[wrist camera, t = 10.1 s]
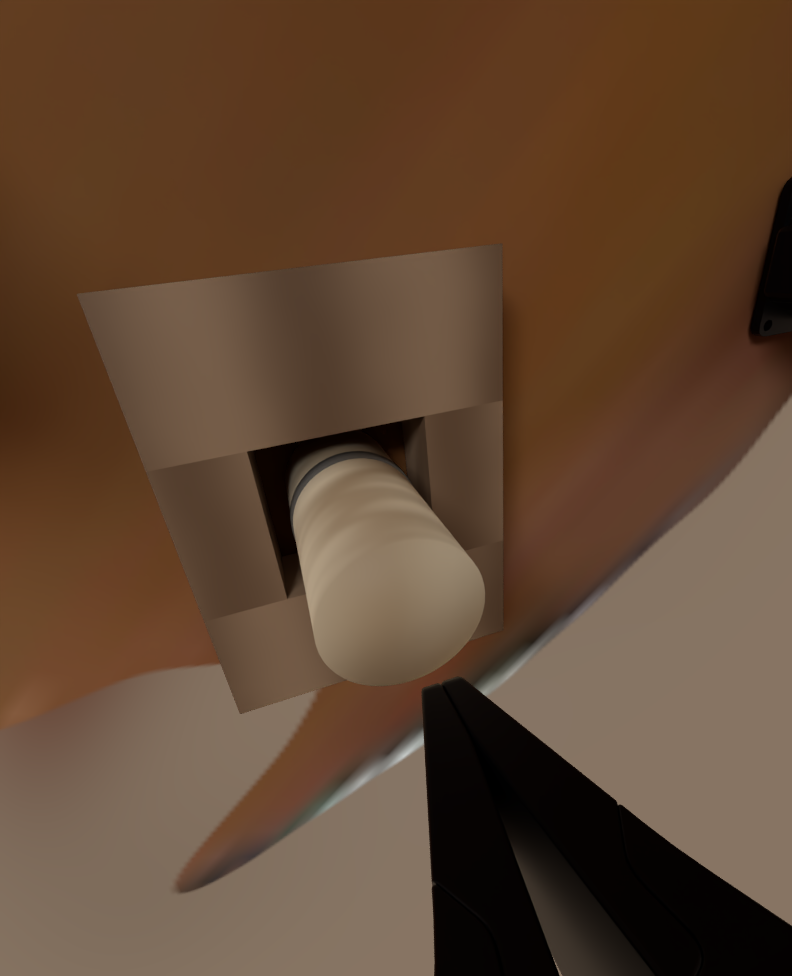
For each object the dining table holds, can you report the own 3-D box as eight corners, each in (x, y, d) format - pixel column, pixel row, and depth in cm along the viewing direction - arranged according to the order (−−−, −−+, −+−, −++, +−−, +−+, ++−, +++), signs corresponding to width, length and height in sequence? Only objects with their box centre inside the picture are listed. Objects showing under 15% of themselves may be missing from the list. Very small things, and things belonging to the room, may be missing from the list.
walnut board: (462, 249, 17) (502, 243, 14) (475, 591, 24) (503, 630, 21) (107, 291, 14) (76, 293, 12) (240, 660, 21) (239, 714, 19)
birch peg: (383, 416, 19) (485, 517, 11) (395, 511, 21) (488, 656, 13) (272, 438, 18) (293, 567, 10) (296, 536, 20) (329, 708, 12)
